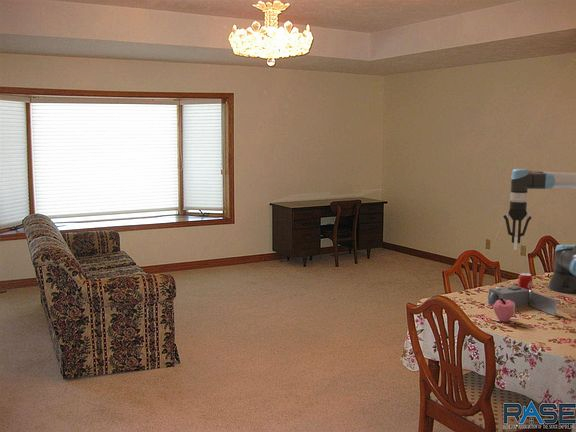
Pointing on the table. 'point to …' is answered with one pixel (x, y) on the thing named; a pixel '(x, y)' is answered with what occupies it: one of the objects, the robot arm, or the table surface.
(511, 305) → the apple
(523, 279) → the beverage can
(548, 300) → the side door
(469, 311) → the table surface
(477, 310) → the table surface
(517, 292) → the grey knobbed block
